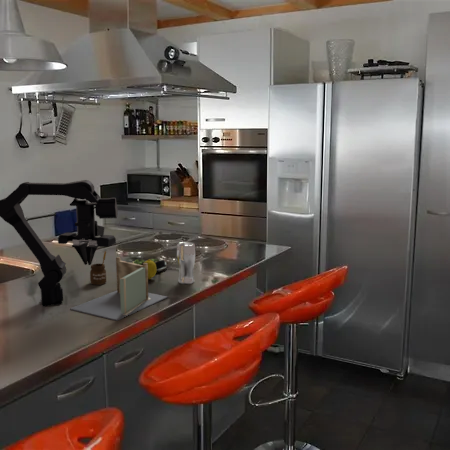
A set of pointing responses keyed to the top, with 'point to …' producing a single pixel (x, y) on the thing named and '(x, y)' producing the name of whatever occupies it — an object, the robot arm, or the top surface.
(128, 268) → the fence fixed section
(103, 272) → the brown jar
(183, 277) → the beer glass
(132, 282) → the pale green panel
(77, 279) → the top surface
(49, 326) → the top surface
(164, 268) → the salad plate
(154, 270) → the lemon
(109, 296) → the card
